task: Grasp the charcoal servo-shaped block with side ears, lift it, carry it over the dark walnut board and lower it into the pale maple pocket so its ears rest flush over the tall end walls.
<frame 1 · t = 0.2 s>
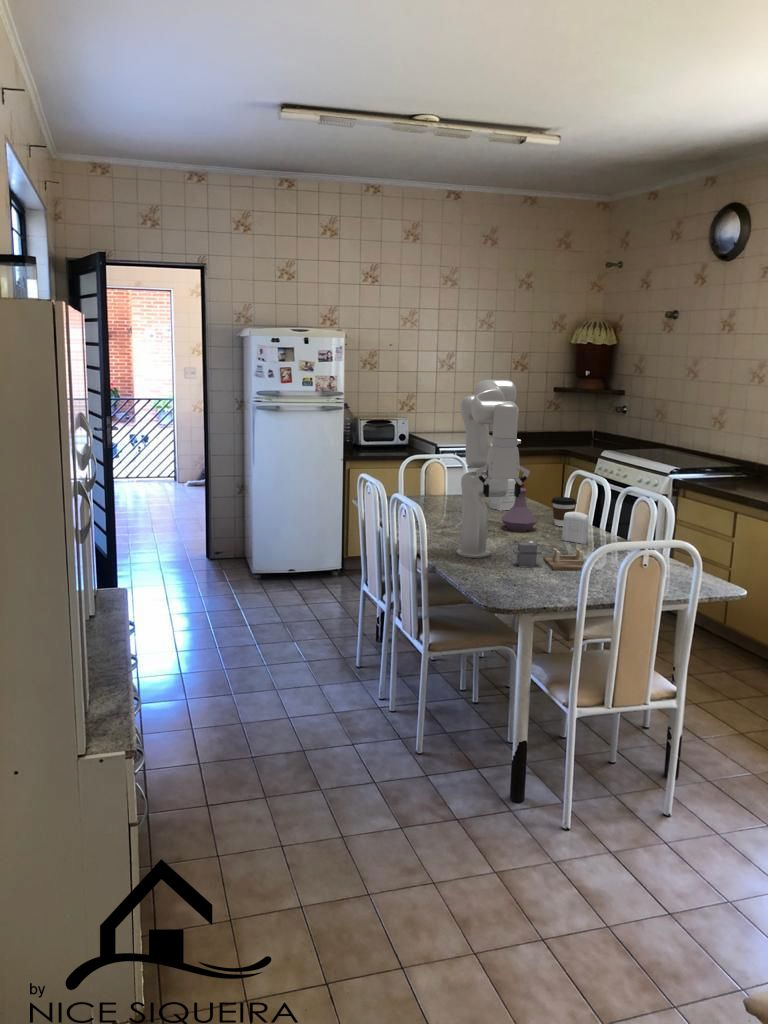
hand: (501, 496, 259), 31 cm above the table, tool pointing down, fingers open, 9 cm apart
flask: (518, 529, 352), on the table
coffee cup: (562, 526, 360), on the table
dock: (567, 565, 297), on the table
servo block: (526, 565, 296), on the table
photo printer: (574, 542, 332), on the table
supplement box: (501, 509, 393), on the table
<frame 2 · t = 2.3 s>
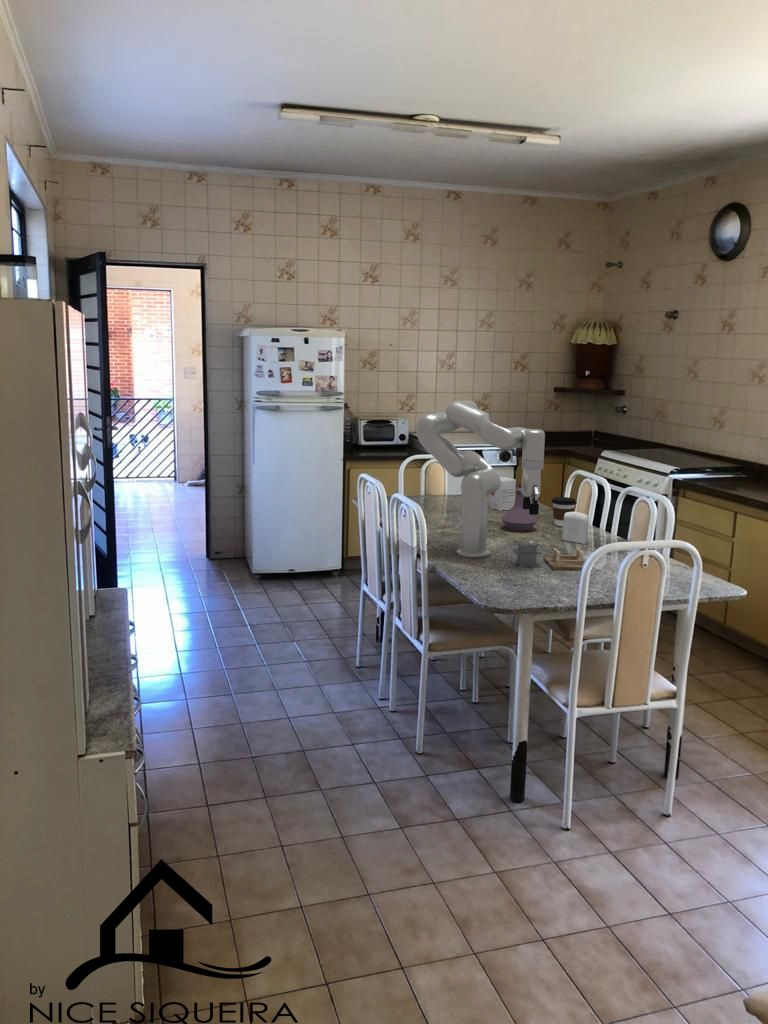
hand: (530, 511, 291), 20 cm above the table, tool pointing down, fingers open, 9 cm apart
nothing on the table moved.
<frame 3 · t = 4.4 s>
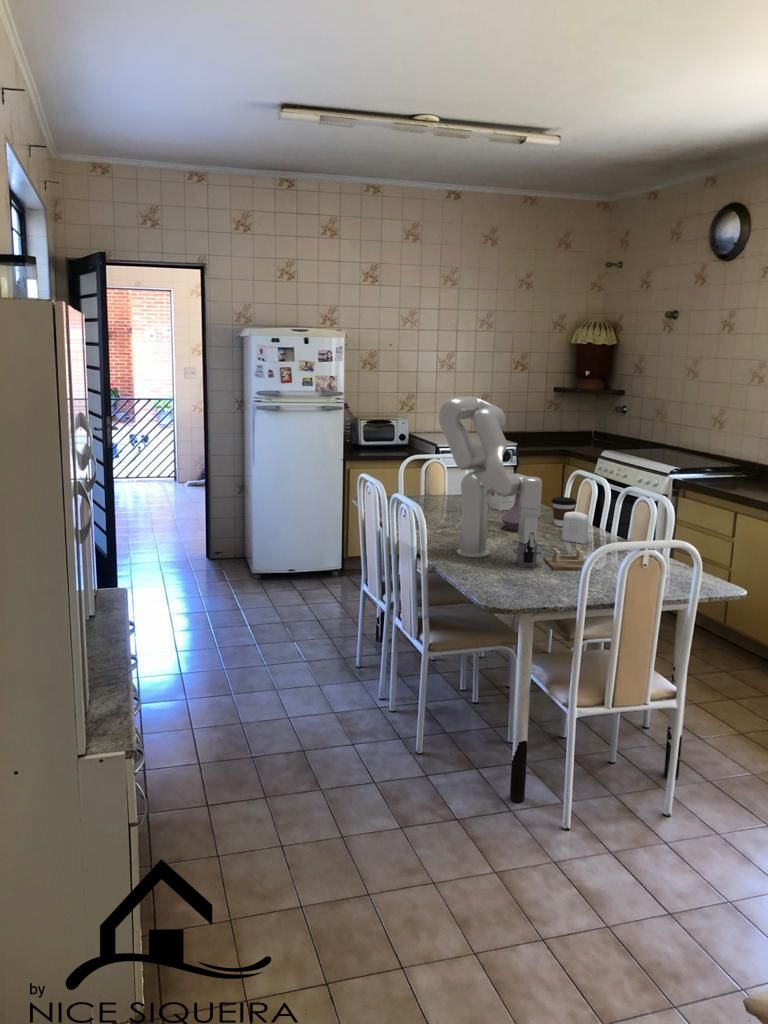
hand: (526, 560, 295), 2 cm above the table, tool pointing down, fingers closed on servo block, 4 cm apart
servo block: (526, 565, 296), on the table, touching gripper
everything else where it was.
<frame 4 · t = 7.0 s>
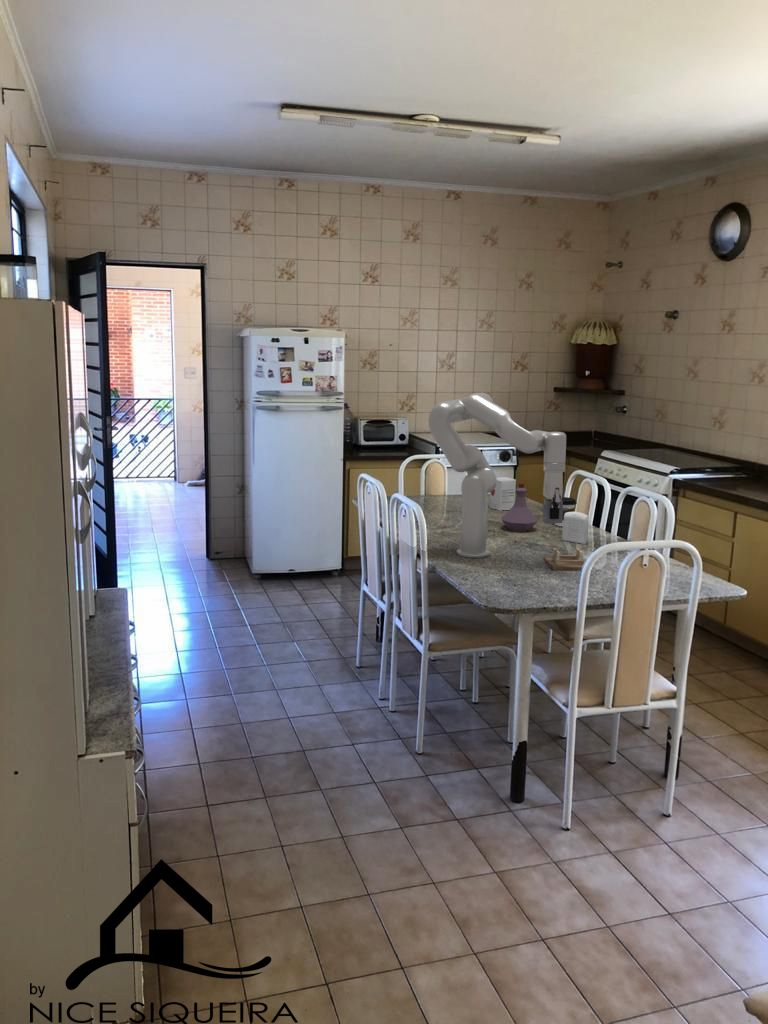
hand: (552, 517, 292), 18 cm above the table, tool pointing down, fingers closed on servo block, 4 cm apart
servo block: (552, 522, 292), point 16 cm above the table, touching gripper
everything else where it was.
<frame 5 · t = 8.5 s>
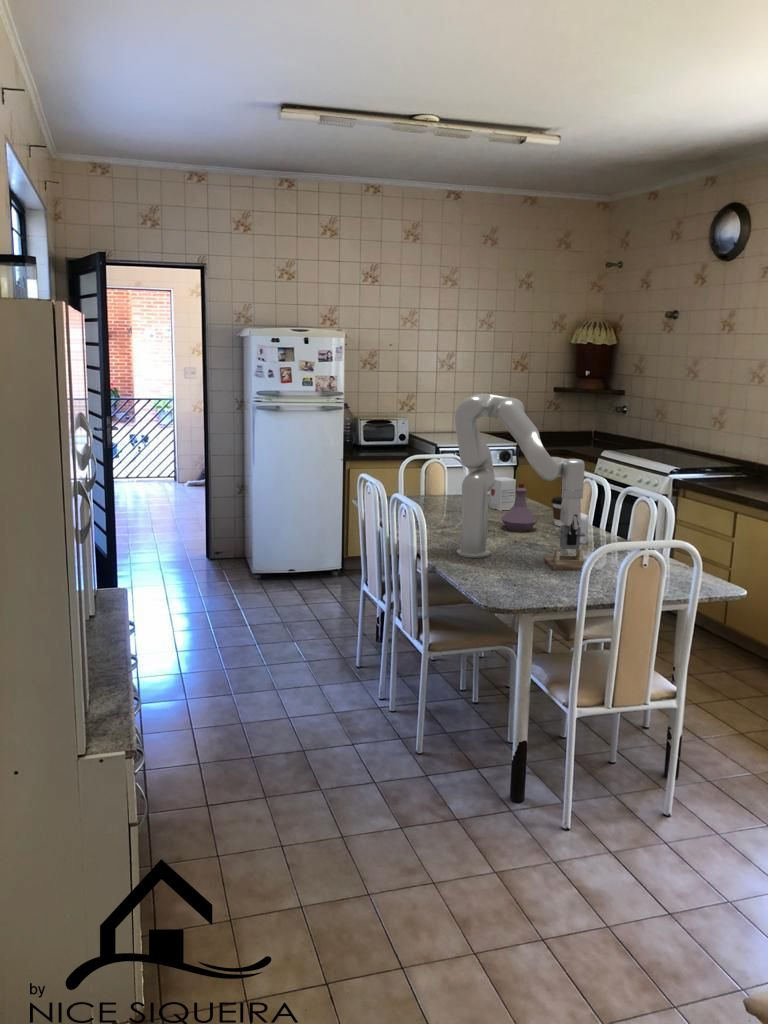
hand: (569, 542, 295), 8 cm above the table, tool pointing down, fingers closed on servo block, 4 cm apart
servo block: (569, 547, 295), point 7 cm above the table, touching gripper
everything else where it was.
when the fingers open (4 cm above the table, at t = 9.5 s): servo block drops 1 cm, resting on dock.
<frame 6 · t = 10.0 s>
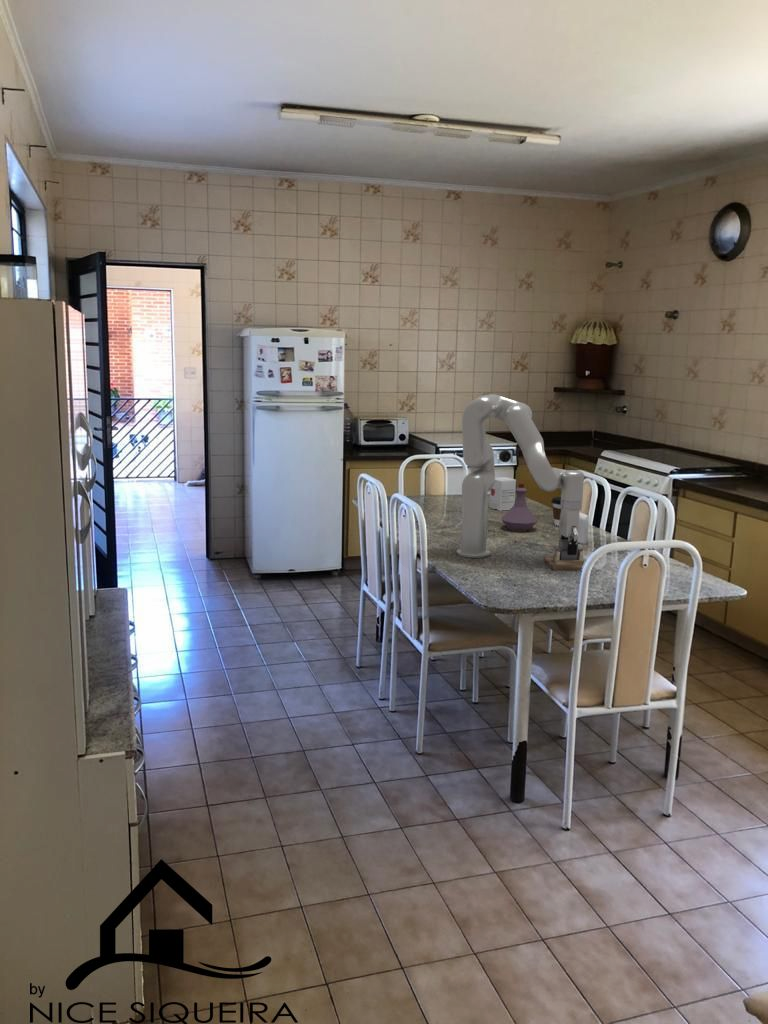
hand: (568, 551, 295), 5 cm above the table, tool pointing down, fingers open, 9 cm apart
servo block: (567, 561, 296), point 1 cm above the table, touching dock
everything else where it was.
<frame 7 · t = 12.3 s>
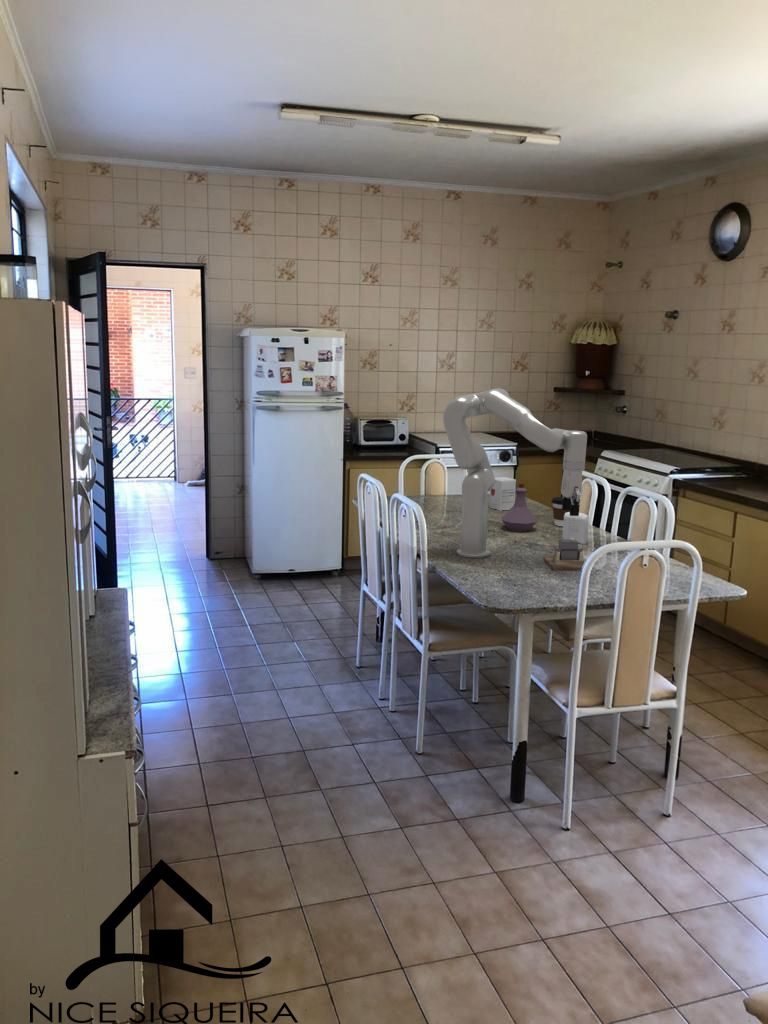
hand: (570, 512, 292), 19 cm above the table, tool pointing down, fingers open, 9 cm apart
nothing on the table moved.
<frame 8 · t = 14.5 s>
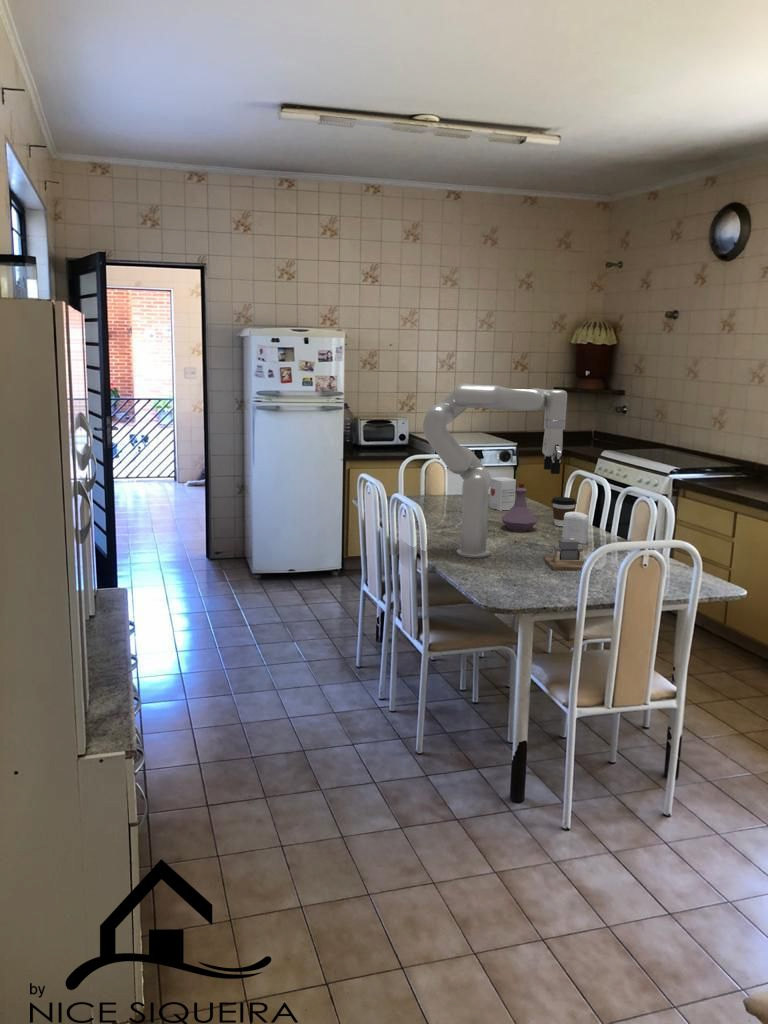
hand: (551, 471, 296), 33 cm above the table, tool pointing down, fingers open, 9 cm apart
nothing on the table moved.
at the end: servo block 0.0 cm off-centre on the dock, point 1.2 cm above the dock's base; servo block tilted 0°; the gripper is holding nothing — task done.
